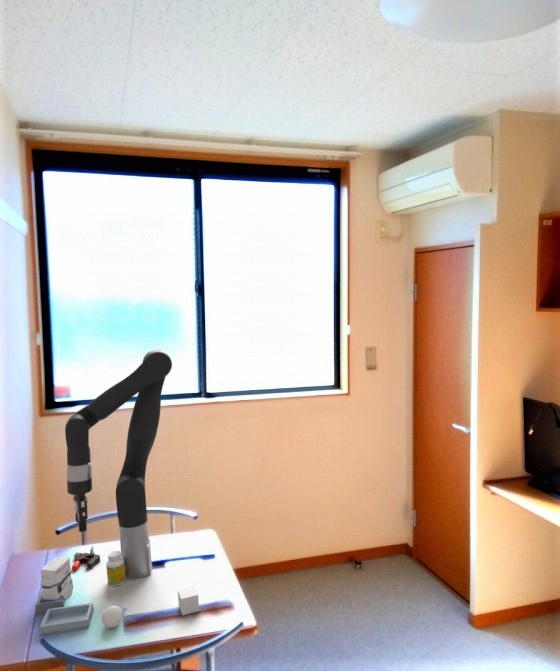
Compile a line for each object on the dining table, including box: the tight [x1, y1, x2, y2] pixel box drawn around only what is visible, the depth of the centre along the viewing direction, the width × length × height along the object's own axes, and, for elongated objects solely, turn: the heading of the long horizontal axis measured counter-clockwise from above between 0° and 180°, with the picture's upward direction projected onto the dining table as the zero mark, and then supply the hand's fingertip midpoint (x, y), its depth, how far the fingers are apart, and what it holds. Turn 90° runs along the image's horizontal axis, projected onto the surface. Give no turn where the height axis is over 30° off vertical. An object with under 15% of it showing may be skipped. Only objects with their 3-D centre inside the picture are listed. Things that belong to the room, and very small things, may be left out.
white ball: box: [101, 605, 124, 629], centre depth 150 cm, size 8×6×6 cm
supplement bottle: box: [105, 550, 126, 587], centre depth 172 cm, size 5×5×10 cm
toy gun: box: [71, 545, 101, 572], centre depth 186 cm, size 10×12×5 cm
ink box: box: [40, 556, 73, 602], centre depth 164 cm, size 8×5×12 cm, turn 170°
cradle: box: [34, 578, 74, 615], centre depth 164 cm, size 8×13×3 cm, turn 10°
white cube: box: [177, 586, 200, 616], centre depth 156 cm, size 5×5×5 cm
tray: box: [39, 602, 95, 636], centre depth 152 cm, size 9×13×2 cm
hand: (81, 526), depth 172 cm, fingers open, 8 cm apart
